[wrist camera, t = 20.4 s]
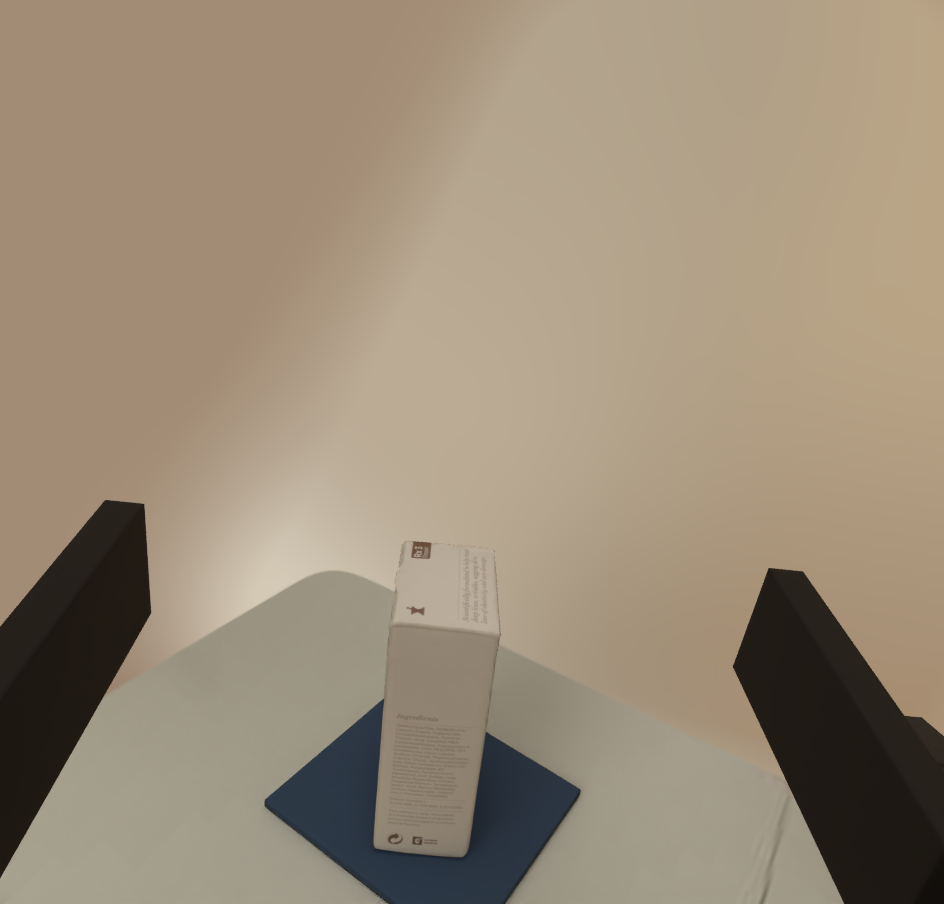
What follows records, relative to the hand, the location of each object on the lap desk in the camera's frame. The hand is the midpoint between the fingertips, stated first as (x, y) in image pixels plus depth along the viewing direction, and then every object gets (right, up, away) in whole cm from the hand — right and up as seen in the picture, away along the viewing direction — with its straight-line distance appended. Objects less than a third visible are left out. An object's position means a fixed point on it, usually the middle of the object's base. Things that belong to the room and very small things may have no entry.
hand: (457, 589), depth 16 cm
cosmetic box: (-2, -13, +19) cm, 24 cm away
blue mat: (-2, -13, +20) cm, 24 cm away
